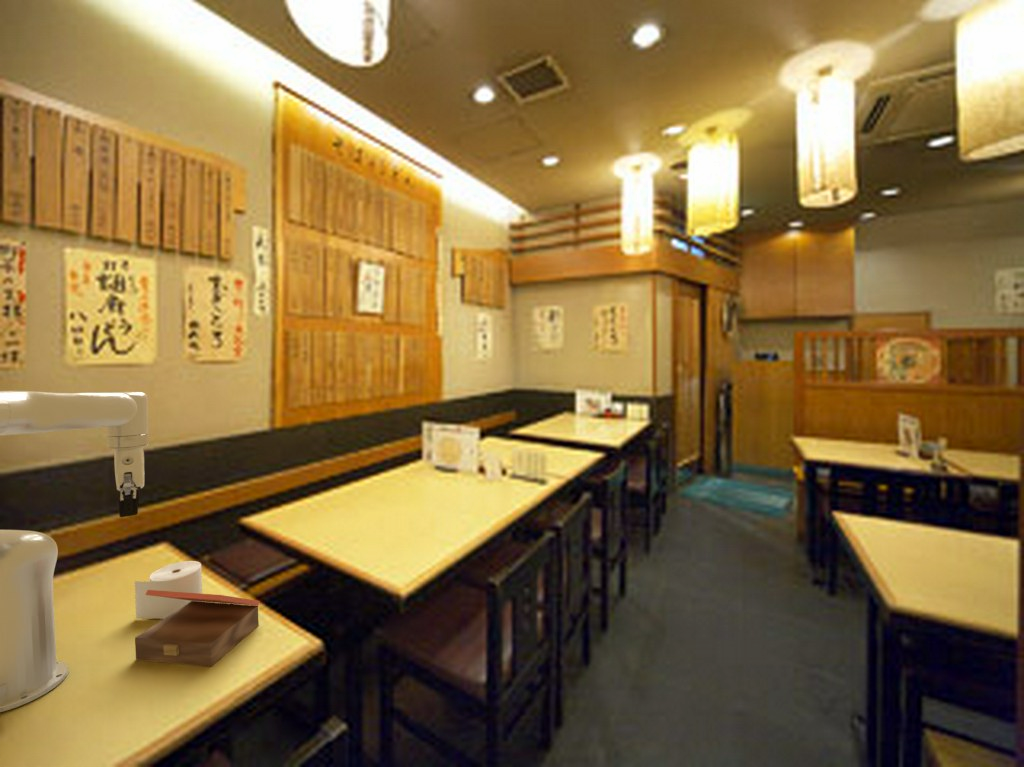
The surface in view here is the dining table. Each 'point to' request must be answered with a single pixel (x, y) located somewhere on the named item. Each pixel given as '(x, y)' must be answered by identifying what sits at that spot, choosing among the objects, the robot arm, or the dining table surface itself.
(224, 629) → the walnut box
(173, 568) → the toilet tissue
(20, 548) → the robot arm
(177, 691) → the dining table surface
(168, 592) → the lid
